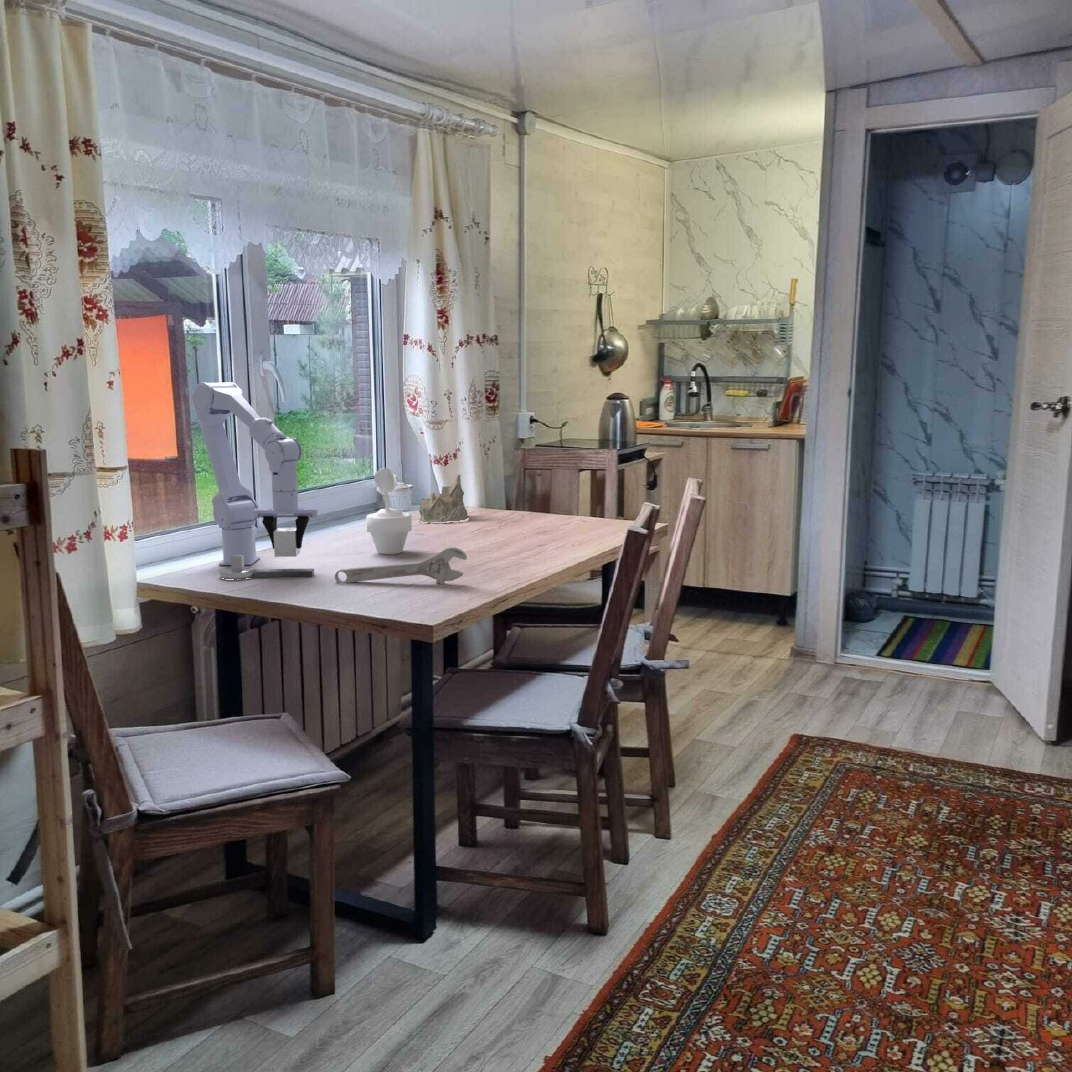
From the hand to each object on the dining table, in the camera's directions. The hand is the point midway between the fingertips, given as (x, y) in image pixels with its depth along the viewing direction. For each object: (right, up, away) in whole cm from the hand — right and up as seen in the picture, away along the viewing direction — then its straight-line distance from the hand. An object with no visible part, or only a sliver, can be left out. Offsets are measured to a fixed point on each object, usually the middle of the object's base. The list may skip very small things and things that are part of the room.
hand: (287, 547), depth 238 cm
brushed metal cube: (0, -2, 0) cm, 2 cm away
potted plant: (+21, -2, +24) cm, 32 cm away
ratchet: (-3, -7, -6) cm, 10 cm away
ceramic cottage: (+30, +7, +78) cm, 84 cm away
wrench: (+29, -8, -14) cm, 33 cm away
